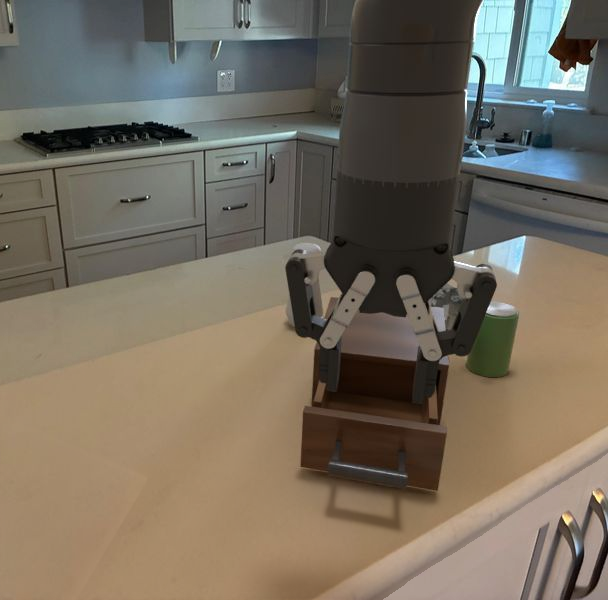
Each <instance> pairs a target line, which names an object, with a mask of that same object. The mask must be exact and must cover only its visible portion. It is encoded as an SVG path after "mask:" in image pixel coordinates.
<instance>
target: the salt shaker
mask: <svg viewBox="0 0 608 600" xmlns="http://www.w3.org/2000/svg"><path fill="white" fill-rule="evenodd" d="M298 249H301V250H304V251H305V252H306V253H307V254H309V253H320V252H322V248H321V247H320V246H319V245H318V244H315V243H311V242H301V243H297V244H295V245H294V246H293V247H292V252H291V254H292V253H293V252H294V251H295V250H298ZM312 288H313V295H314V302H315V308H316V315H317V316H319V317H321V318H323V315H324V305H323V300H322V293H321V285H320V277H319V276H318V279H317V281H316V283H314V284H312ZM285 315H286V317H287V319H288V322H289V325H290V326H291V327H292V328H295V325H294V319H293V313H292V307H291V301H290V294H289V293H288V298H287V302H286V307H285Z"/></svg>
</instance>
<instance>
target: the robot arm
mask: <svg viewBox="0 0 608 600" xmlns="http://www.w3.org/2000/svg"><path fill="white" fill-rule="evenodd" d="M483 3H484V0H355V2H354V4H353V8H352V13H351V19H350V27H349V38H348V39H349V40H348V43H349V44H348V55H347V69H346V86H345V88H346V90H345V97H344V104H343V109H342V114H341V118H340V125H339V132H338V133H339V134H338V147H337V165H336V166H337V167H336V180H335V198H334V214H333V228H332V229H333V230H332V240H331V243H330V244H329V246H328V248H327V249H326V251H321V252H320V253H309V254H307V253H306V252H305V251H304V250H301V249H298V250H295V251H294V252H293V251H292V252H293V253H292V252H291V255H290V257H289V259H287V261H286V264H285V267H284V269H285V275H286V282H287V288H288V295H289V294H290V301H291V307H292V313H293V319H294V325H295V327H294V331H295V334H296V335H297V336H298V337H300V338H303V339H306V338H310V339H311V340H314V341H315V342H318V344H319V346H320V358H319V376H318V377H319V379H320V382H321V383H327V391H332V392H336V391H337V386H338V381H339V372H340V358H341V344H342V337H341V336H342V334H343V332H344V330H345V329H346V327H348V325H349V324H350V322H351V321H352V319H353V317H354V316H355V314H356V312H357V311H358V310H359V313H367V314H374V313H381V312H383V313H386V314H389V315H392V316H396V317H406V315H407V314H408V317H409V320H410V323H411V325H412V328H413V331H414V333H415V334H416V336H417V339H418V341H419V344H420V346H418V352H417V360H416V368H415V376H414V383H413V403H416V404H423V400H424V397H427V398H431V397H432V395H433V394H434V393H435V386H436V379H437V373H438V366H439V361H440V360H441V359H442V358H443V357H444V356H447V355H448V356H451V355H452V356H453V355H455V356H456V357H467V356H468V354H469V353H470V352H471V350H472V347H473V345H474V342H475V340H476V337H477V335H478V332H479V330H480V327H481V325H482V322H483V320H484V317H485V315H486V312H487V310H488V307H489V305H490V302H491V301H493V297H494V295H495V293H496V290H497V287H498V283H497V280H496V274H495V273H494V270H493V268H492V266H491V265H489V264H487V263H480V264H478V265H476V266H473V265H470V264H466V263H462V262H458V261H455V259H454V256H453V254H452V252H451V240H452V233H453V226H454V219H455V211H456V205H457V198H458V197H457V196H458V190H459V184H460V178H461V177H460V176H461V168H462V161H463V158H464V148H465V142H466V134H467V96H468V91H467V89H468V86H469V81H470V80H469V78H470V71H471V65H472V58H473V51H474V43H475V36H476V26H477V19H478V15H479V12H480V10H481V6H482V5H483ZM322 270H326V271H327V273H328V274H329V276H330V278H331V279H332V280H333V282H334V284H335V285H336V286H337V288H338V290H339V291H340V292H341V293H340V295H339V297H337V298H338V300H337V302H336V305H335V307H334V308H333V310H332V312H331V314H330V315H329V317H328V319H327V320H326V319H324V317H319V316H317V315H316V308H315V302H314V295H313V288H312V284H314V283H316V281H317V279H318V277H319V276H320V271H322ZM451 280H453V281H455V282H456V288H457V290H458V294H459V296H460V297H461V298H463V300H462V302H461V305H460V308H459V310H458V313H457V316H456V318H455V321H454V324H453V326H452V329H451V330H448V329H446V331H441V332H439V331H438V328H437V325H436V322H435V319H434V316H433V312H432V309H431V305H430V303H429V300H430V299H431V298H432V297H433V296H434V295H435V294H436V293H437V292H438V291H439V290H440V289H441V288H442V287H443V286H444V285H445V284H446V283H447V284H449V282H450V281H451Z"/></svg>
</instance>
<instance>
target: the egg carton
mask: <svg viewBox="0 0 608 600" xmlns="http://www.w3.org/2000/svg"><path fill="white" fill-rule="evenodd" d="M462 300H463V298H461V297H460V296H459V294H458V290H457V287H455V286H453V285H451V284H450V283H446V284H445V285H444V286H443V287H442V288H441V289H440V290H439V291H438V292H437V293H436V294H435V295H434V296H433V297H432V298H431V299H430V300H429V303H430V305H431V307H440V308H444V316H445V327H446V330H451V329H452V326H453V324H454V321H455V318H456V316H457V313H458V310H459V308H460V305H461V302H462Z"/></svg>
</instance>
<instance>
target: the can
mask: <svg viewBox="0 0 608 600" xmlns="http://www.w3.org/2000/svg"><path fill="white" fill-rule="evenodd" d="M519 318H520V311H519V309H517V308H516V307H515V306H513V305H511V304H509V303H505V302H501V301H495V300H494V301H493V300H491V302H490V305H489V307H488V310H487V312H486V315H485V317H484V320H483V322H482V325H481V327H480V330H479V332H478V335H477V337H476V340H475V342H474V345H473V347H472V350H471V352H470V353H469V354H468V355H466V361H465V365H466V367H467V369H468V370H470V371H471V372H472V373H474V374H476V375H479V376H482V377H488V378H500V377H503V376H506V375H507V374H508V373H509V370H510V369H509V368H510V364H511V360H512V359H511V358H512V353H513V348H514V344H515V343H514V342H515V338H516V332H517V328H518V323H519Z"/></svg>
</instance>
